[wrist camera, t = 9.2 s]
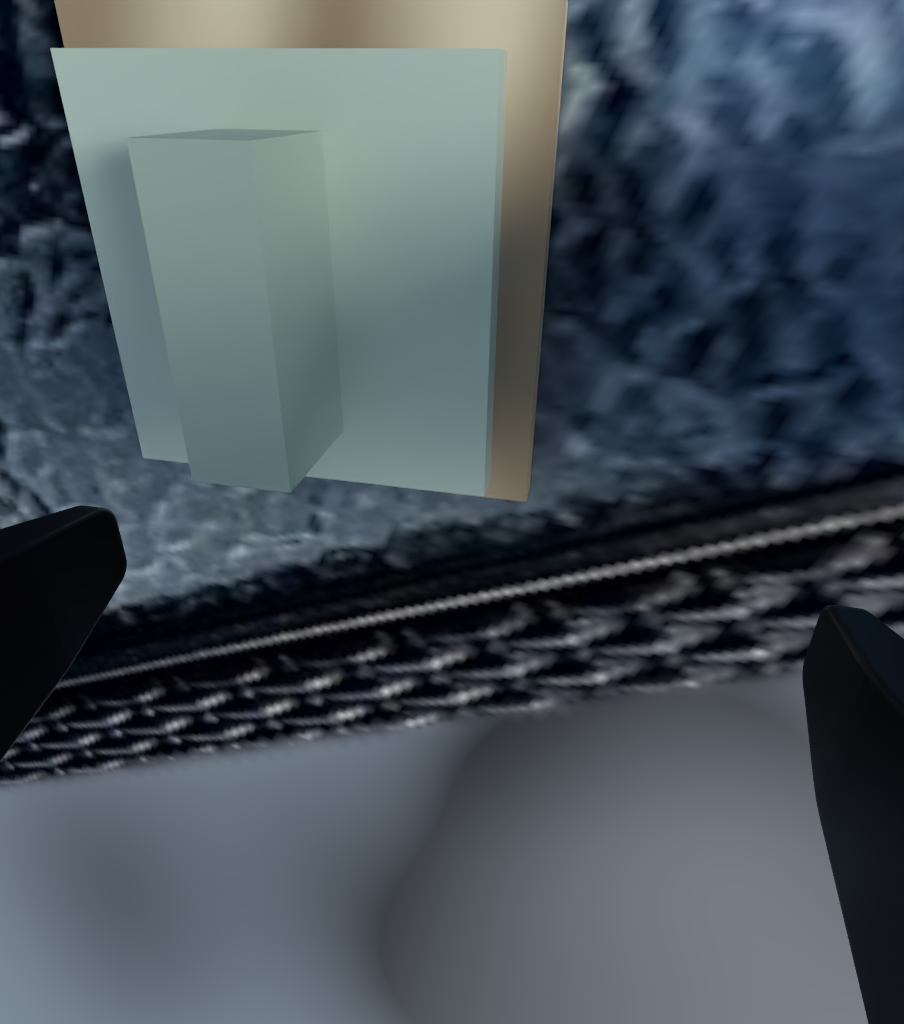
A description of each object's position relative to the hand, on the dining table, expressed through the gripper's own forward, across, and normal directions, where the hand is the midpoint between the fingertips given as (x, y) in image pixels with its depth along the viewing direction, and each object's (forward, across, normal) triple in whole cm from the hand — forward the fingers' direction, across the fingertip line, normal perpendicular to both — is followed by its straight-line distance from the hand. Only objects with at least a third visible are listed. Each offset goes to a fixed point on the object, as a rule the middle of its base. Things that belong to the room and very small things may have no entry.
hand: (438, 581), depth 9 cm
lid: (+11, +6, -1) cm, 13 cm away
